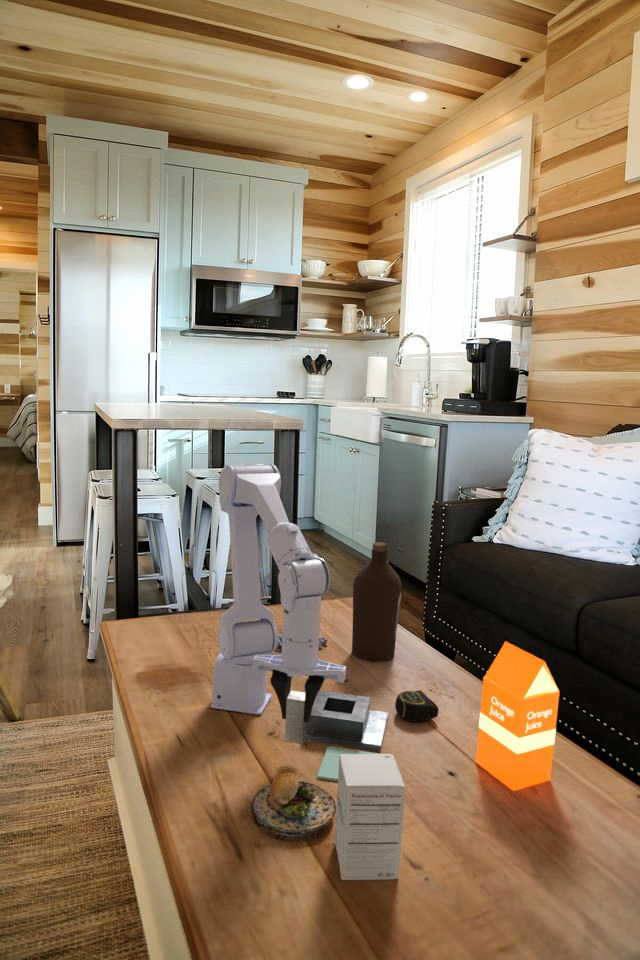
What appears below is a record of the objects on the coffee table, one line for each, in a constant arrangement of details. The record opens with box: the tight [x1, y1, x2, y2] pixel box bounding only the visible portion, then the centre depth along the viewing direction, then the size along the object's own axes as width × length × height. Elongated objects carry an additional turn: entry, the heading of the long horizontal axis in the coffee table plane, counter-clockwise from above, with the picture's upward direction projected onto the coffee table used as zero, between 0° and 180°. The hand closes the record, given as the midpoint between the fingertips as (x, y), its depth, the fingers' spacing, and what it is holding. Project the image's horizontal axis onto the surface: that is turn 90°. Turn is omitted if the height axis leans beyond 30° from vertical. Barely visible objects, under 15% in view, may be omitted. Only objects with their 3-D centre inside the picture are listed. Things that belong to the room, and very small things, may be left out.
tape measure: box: [394, 689, 440, 723], centre depth 128 cm, size 7×7×4 cm
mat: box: [316, 745, 379, 782], centre depth 111 cm, size 9×9×1 cm
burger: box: [250, 766, 337, 843], centre depth 98 cm, size 12×12×8 cm
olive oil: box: [351, 541, 403, 663], centre depth 155 cm, size 11×11×25 cm
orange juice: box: [475, 641, 560, 792], centre depth 110 cm, size 8×9×20 cm
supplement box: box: [334, 753, 406, 881], centre depth 88 cm, size 7×7×13 cm
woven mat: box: [275, 634, 329, 653], centre depth 159 cm, size 10×11×2 cm
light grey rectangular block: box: [284, 690, 306, 744], centre depth 111 cm, size 3×3×7 cm
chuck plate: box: [303, 689, 389, 752], centre depth 123 cm, size 16×12×4 cm
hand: (296, 717), depth 111 cm, fingers closed on light grey rectangular block, 3 cm apart
